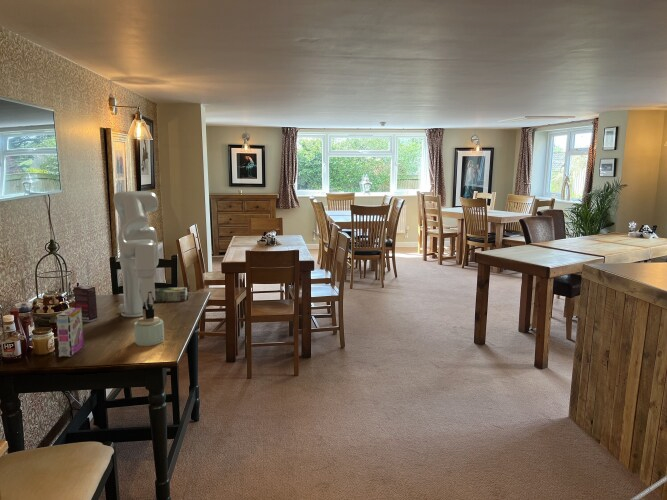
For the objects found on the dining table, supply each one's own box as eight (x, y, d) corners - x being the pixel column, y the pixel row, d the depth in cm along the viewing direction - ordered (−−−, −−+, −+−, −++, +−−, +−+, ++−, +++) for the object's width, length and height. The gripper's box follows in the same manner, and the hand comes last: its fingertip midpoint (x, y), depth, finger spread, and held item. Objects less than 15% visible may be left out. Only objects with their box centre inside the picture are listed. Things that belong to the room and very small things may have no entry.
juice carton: (189, 296, 270) (188, 285, 268) (188, 301, 260) (187, 290, 259) (151, 298, 265) (150, 287, 264) (148, 303, 255) (148, 292, 254)
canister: (129, 344, 195) (128, 325, 194) (146, 335, 206) (145, 317, 204) (153, 347, 192) (152, 327, 191) (169, 337, 203) (168, 319, 202)
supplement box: (98, 319, 226) (95, 286, 223) (90, 322, 221) (87, 289, 219) (83, 317, 229) (81, 285, 226) (75, 320, 224) (72, 287, 222)
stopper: (136, 328, 199) (135, 309, 198) (157, 324, 204) (156, 306, 202) (140, 334, 192) (139, 314, 191) (162, 330, 197) (161, 311, 195)
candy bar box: (72, 357, 181) (69, 315, 178) (58, 357, 181) (54, 315, 178) (85, 346, 192) (81, 306, 189) (71, 346, 192) (68, 306, 189)
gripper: (132, 270, 199) (134, 312, 202) (140, 278, 185) (143, 323, 188) (151, 268, 203) (153, 310, 206) (160, 275, 189) (163, 320, 192)
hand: (148, 316), depth 197 cm, fingers closed on stopper, 4 cm apart
